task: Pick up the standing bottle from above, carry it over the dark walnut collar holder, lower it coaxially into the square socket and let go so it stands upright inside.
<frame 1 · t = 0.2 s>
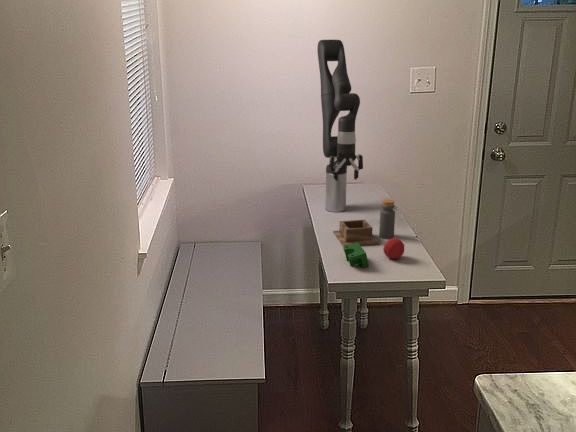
hand: (345, 179, 283), 18 cm above the table, tool pointing down, fingers open, 8 cm apart
bottle: (386, 236, 267), on the table
tomato: (393, 258, 246), on the table
clamp: (355, 263, 241), on the table
collar holder: (355, 238, 265), on the table
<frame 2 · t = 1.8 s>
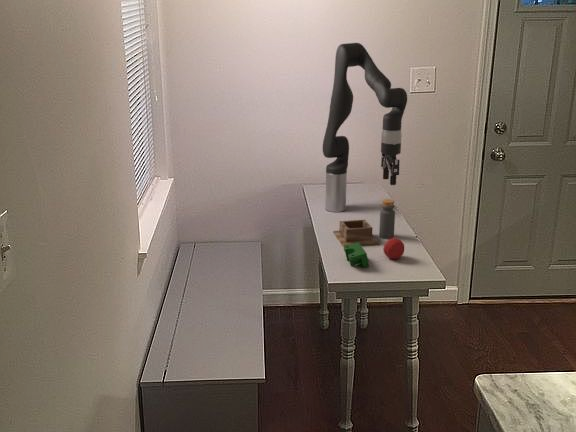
hand: (389, 182, 260), 23 cm above the table, tool pointing down, fingers open, 8 cm apart
nothing on the table moved.
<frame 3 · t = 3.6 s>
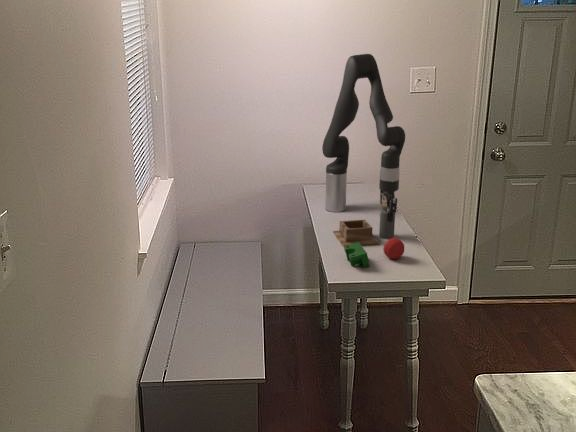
hand: (387, 218, 265), 8 cm above the table, tool pointing down, fingers closed on bottle, 6 cm apart
bottle: (386, 236, 267), on the table, touching gripper
everything else where it was.
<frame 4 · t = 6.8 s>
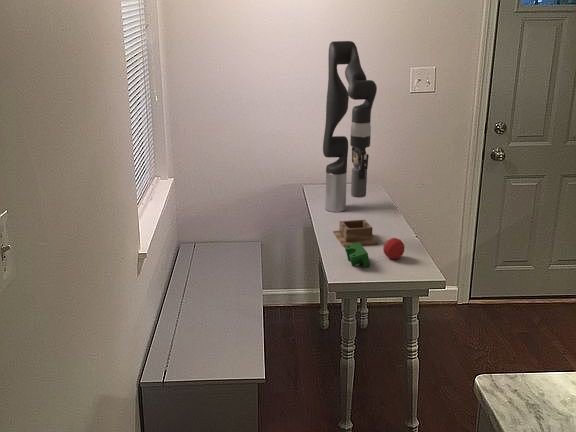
hand: (359, 176, 257), 25 cm above the table, tool pointing down, fingers closed on bottle, 6 cm apart
bottle: (358, 196, 259), point 18 cm above the table, touching gripper
everything else where it was.
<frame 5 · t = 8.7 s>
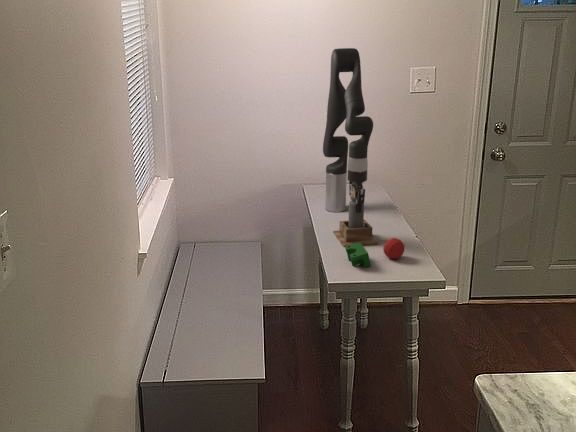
hand: (356, 210, 261), 12 cm above the table, tool pointing down, fingers closed on bottle, 6 cm apart
bottle: (355, 228, 263), point 4 cm above the table, touching gripper
everything else where it was.
when the fingers open (10 cm above the table, at t = 10.1 s): bottle drops 1 cm, resting on collar holder.
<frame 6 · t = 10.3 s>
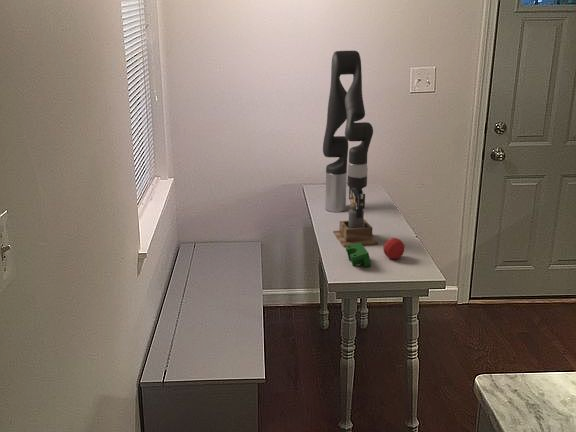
hand: (356, 214, 261), 10 cm above the table, tool pointing down, fingers open, 7 cm apart
bottle: (355, 236, 264), point 1 cm above the table, touching collar holder
everything else where it was.
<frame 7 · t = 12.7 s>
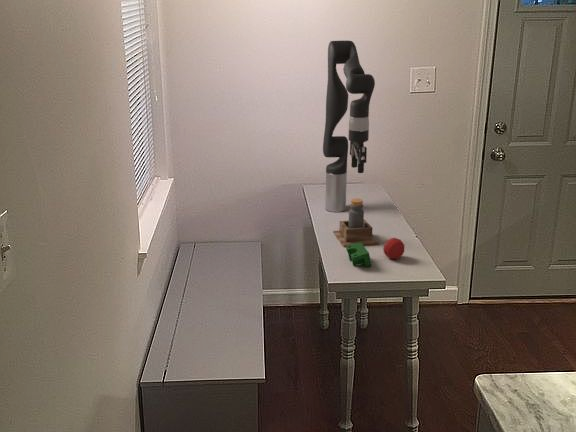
hand: (357, 170, 256), 28 cm above the table, tool pointing down, fingers open, 8 cm apart
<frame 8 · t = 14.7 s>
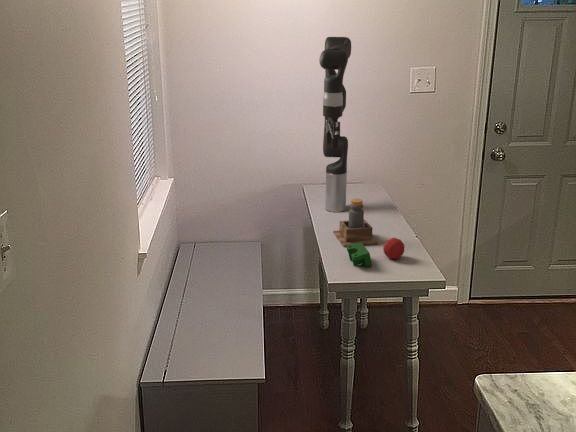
hand: (332, 145, 260), 36 cm above the table, tool pointing down, fingers open, 8 cm apart
at the end: bottle 0.1 cm off-centre on the collar holder, point 0.8 cm above the collar holder's base; bottle tilted 0°; the gripper is holding nothing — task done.
